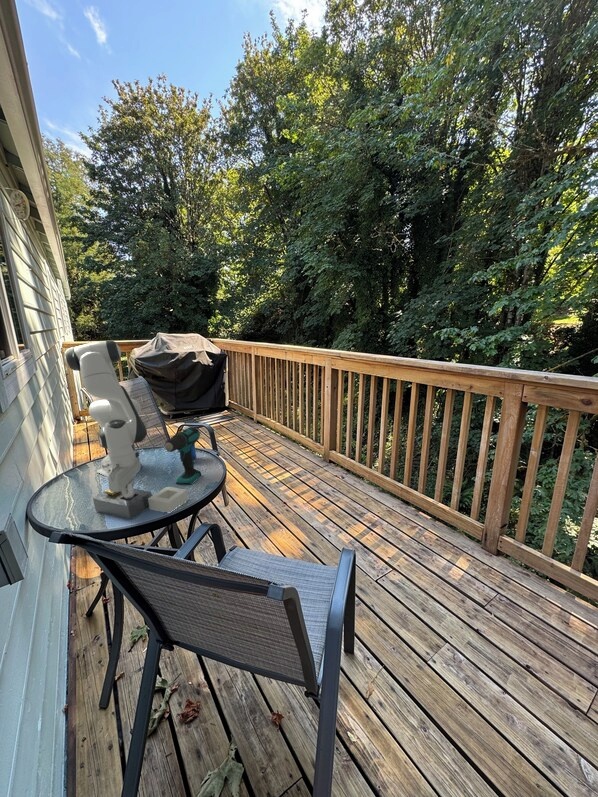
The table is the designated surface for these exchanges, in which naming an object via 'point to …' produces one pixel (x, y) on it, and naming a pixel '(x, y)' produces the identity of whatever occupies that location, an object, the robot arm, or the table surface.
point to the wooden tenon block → (110, 492)
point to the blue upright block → (193, 452)
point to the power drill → (185, 453)
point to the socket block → (122, 504)
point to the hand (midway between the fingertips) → (128, 490)
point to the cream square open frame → (167, 499)
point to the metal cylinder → (129, 491)
